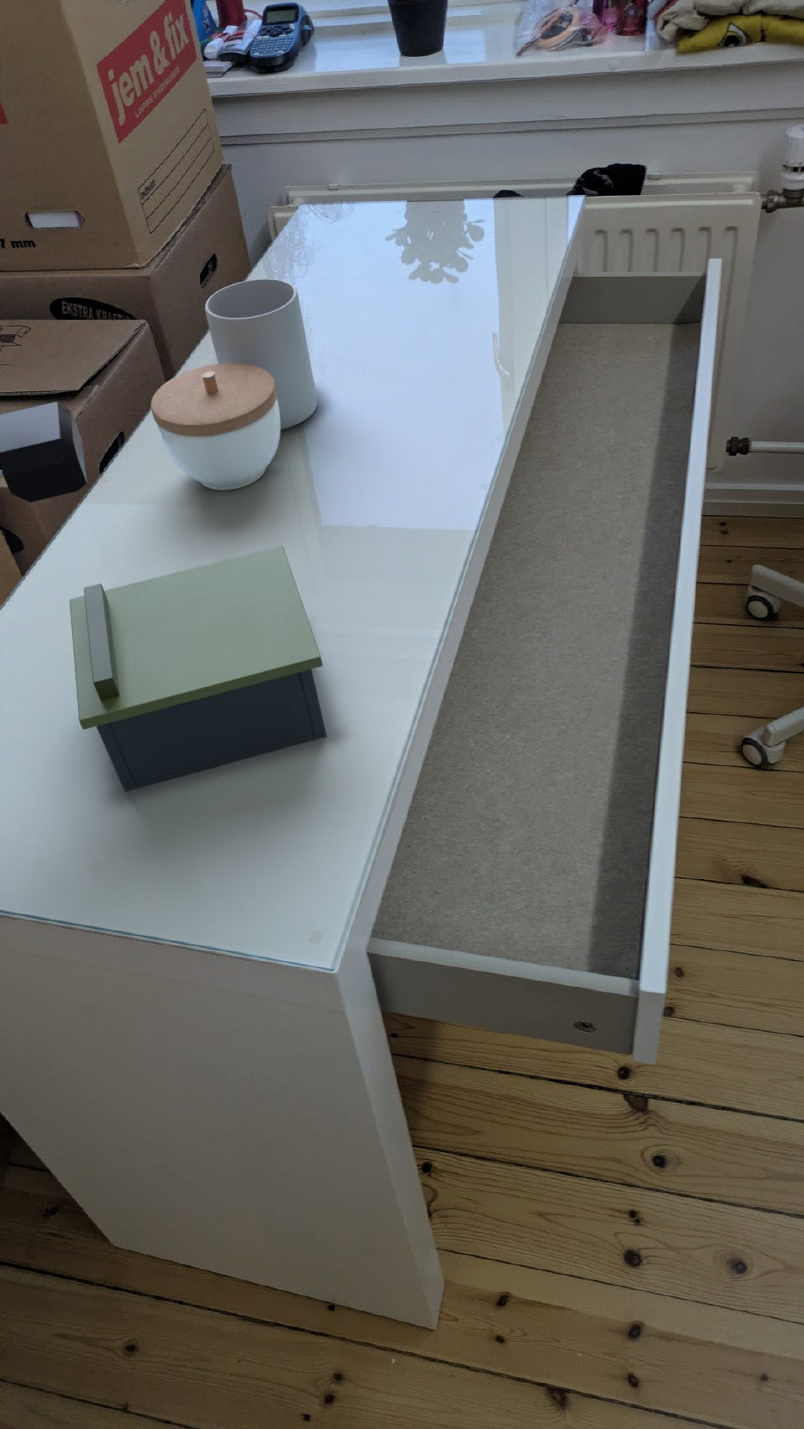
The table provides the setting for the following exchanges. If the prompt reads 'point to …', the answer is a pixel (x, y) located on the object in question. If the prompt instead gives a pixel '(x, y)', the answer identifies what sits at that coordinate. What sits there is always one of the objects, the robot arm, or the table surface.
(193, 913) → the table surface
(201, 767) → the bin
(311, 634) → the bin lid
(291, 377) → the mug
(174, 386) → the trinket box
